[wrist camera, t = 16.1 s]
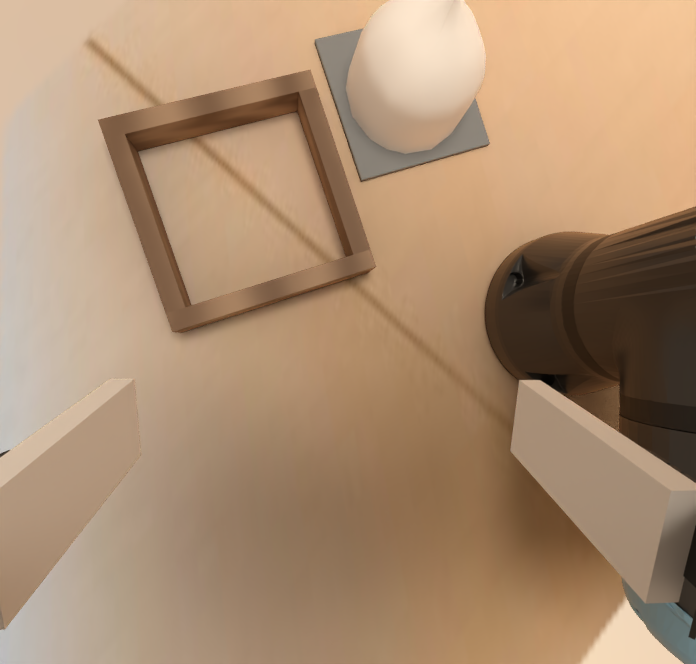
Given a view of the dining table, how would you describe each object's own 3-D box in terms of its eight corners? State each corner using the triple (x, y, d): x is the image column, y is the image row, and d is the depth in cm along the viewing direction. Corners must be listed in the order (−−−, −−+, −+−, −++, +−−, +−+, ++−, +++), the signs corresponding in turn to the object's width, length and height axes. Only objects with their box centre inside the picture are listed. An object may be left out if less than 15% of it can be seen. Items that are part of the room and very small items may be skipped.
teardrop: (378, 172, 39) (423, 97, 27) (324, 58, 38) (345, -70, 26) (481, 127, 40) (565, 37, 28) (430, 17, 40) (495, -121, 28)
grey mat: (445, 13, 40) (446, 9, 40) (487, 145, 41) (489, 143, 40) (314, 42, 38) (315, 39, 38) (360, 181, 39) (361, 179, 38)
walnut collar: (307, 90, 38) (310, 69, 35) (368, 272, 39) (376, 266, 36) (113, 138, 35) (98, 119, 32) (181, 332, 36) (172, 331, 33)
